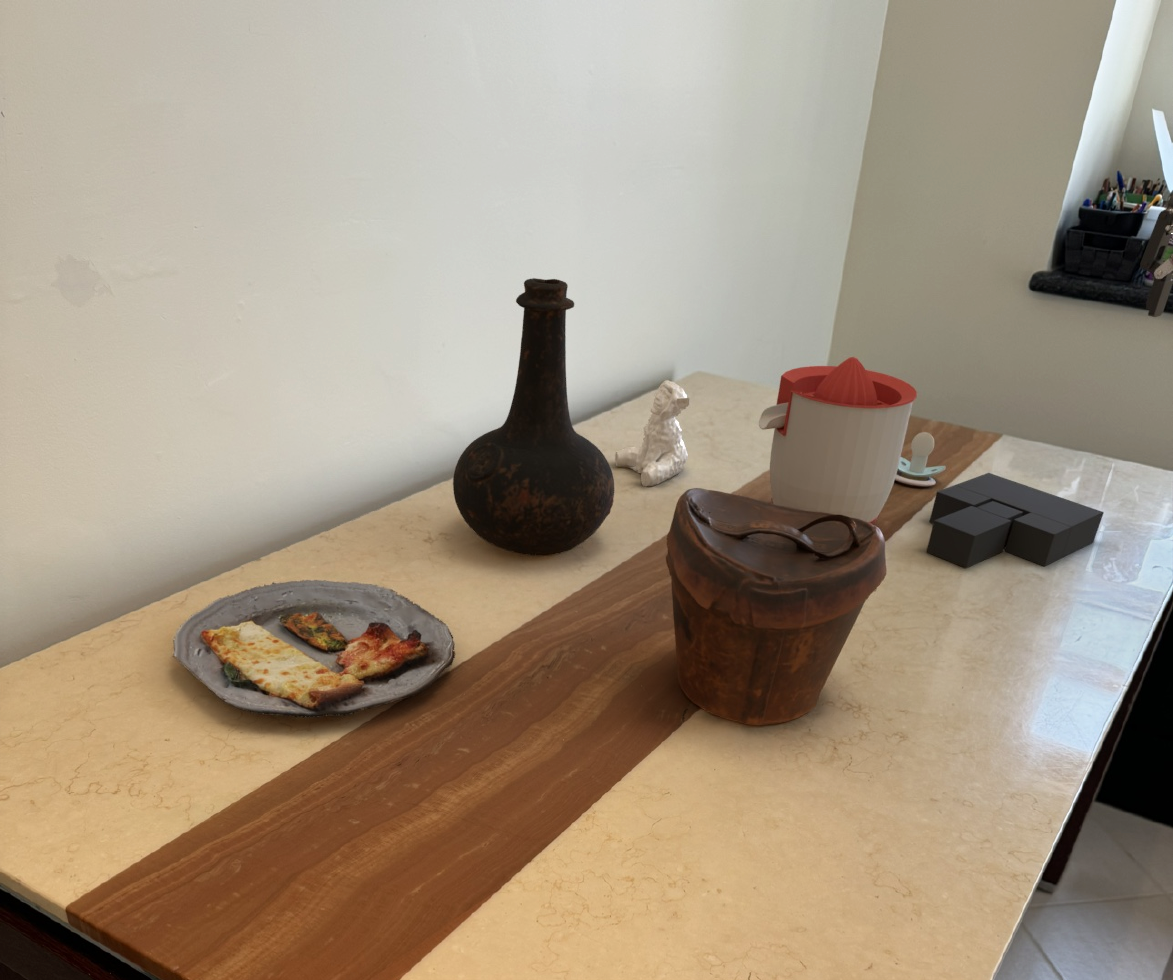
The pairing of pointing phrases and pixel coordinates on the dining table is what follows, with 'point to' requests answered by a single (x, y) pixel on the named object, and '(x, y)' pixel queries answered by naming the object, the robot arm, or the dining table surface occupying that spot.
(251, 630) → the food plate
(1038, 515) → the socket pad
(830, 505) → the citrus juicer
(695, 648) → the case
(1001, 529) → the pad
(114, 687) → the dining table surface
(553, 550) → the glass bottle
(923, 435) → the pacifier
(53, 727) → the dining table surface
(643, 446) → the seated beast figurine
